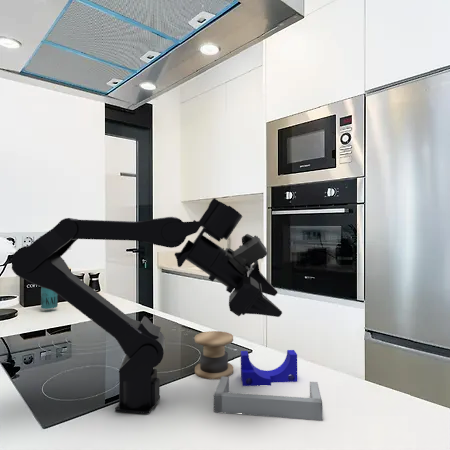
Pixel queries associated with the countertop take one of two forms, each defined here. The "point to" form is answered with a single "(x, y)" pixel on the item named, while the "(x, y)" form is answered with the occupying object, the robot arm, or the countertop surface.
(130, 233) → the robot arm
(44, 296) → the beverage bottle
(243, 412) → the gray u-shaped bracket
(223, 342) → the bobbin
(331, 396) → the countertop surface
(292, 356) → the cable clip
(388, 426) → the countertop surface
